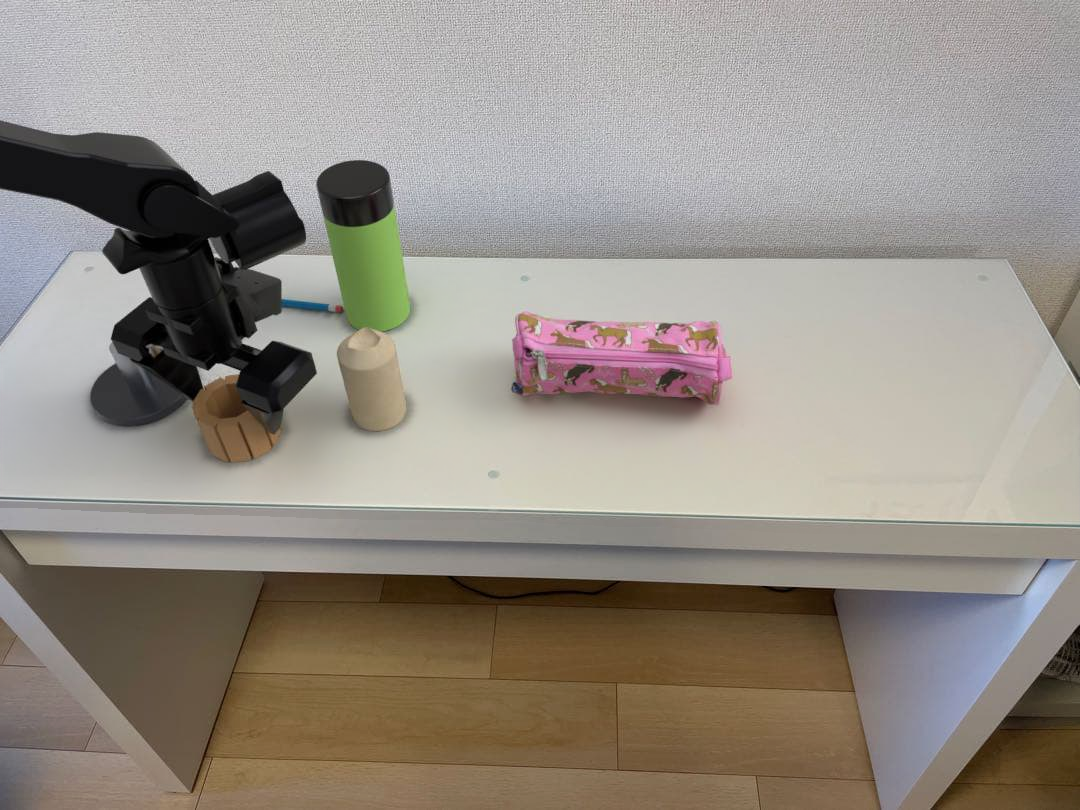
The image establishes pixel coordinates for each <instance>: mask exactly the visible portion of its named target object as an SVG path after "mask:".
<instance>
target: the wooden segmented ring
mask: <svg viewBox="0 0 1080 810" xmlns="http://www.w3.org/2000/svg"><path fill="white" fill-rule="evenodd" d="M238 377H239V374H231V375H230V374H229V375H225V376H224V378H223V377H221V376H220V377H219V378H217V379H215V380H212V381H211V382H210V383H208V384H206V385H203V389H201V390H200V391H199V393H198V395H197V396H196V398H195V399H194V401H193V402H192V401H191V402H192V405H191V408H192V412H193V415H194V419H195V421H196V423H197V426H198V428H199V430H200V432H201V435H202V438H203V440H204V441H205V444H206V446H207V448H208V450H209V452H210V454H211V455H212V456H213V457H215V458H217V459H220V460H221V461H223V462H226V463H229V462H230V463H232V464H233V463H240V462H241V463H242V462H250V461H252V458H253V459H254V460H256V459H257V458H260V457H261V456H263V455H264V454H266V453H267V452H268V451H269V452H270V451H271V450H272V447H275V446H276V443H277V441H278V440H279V438H280V436H281V434H282V429H283V428H282V426H281V427H280V429H279V430H278V431H277V432H276V433H275V434H274V435H273V434H271V433H269V432H268V431H267V430H266V429H265V428H264V427H263V426H262V425H261V424H260V423H259V422H258V421H257V420H256V419H255V418H254V417H253V416H252V414H251V413H250V412H249V411H248V410H247V409H246V408H245V407H244V406H243V405H242V404H241V402H242V401H243V400H244V399H243V398H242V397H241V396H240V395H239V393H238V391H237V388H236V384H237V380H238Z"/></svg>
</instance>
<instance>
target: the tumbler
mask: <svg viewBox="0 0 1080 810" xmlns="http://www.w3.org/2000/svg"><path fill="white" fill-rule="evenodd" d="M315 185H316V190H317V196H318V199H319V203H320V208H321V213H322V216H323V221H324V226H325V230H326V234H327V239H328V242H329V247H330V251H331V256H332V260H333V264H334V268H335V274H336V277H337V281H338V286H339V291H340V296H341V299H342V303H343V309H344V312H345V316H346V319H347V321H348V323H349V325H351V326H352V327H353V328H354V329H357V330H358V331H359V330H360V329H362V328H365V327H369V328H371V329H373V330H377V331H380V332H386V331H387V332H388V331H390V330H393V329H396V328H397V327H398V326H400V325H402V324H403V323H404V322H405V321H406V320H407V319H408V317H409V315H410V313H411V302H410V294H409V288H408V282H407V277H406V276H407V275H406V269H405V264H404V263H405V262H404V258H403V256H404V255H403V250H402V245H401V239H400V231H399V227H398V225H399V224H398V219H397V213H396V206H395V201H394V195H393V188H392V182H391V176H390V171H388V169H387V168H386V167H385V166H384V165H382V164H380V163H379V162H378V163H377V162H375V161H373V160H364V159H353V160H345V161H341V162H337V163H335V164H333V165H331V166H329V167H327V168H325V169H324V170H323V171H322V172H321V173H320V174H319V175H318V177H317V179H316V182H315Z"/></svg>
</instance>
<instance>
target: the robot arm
mask: <svg viewBox="0 0 1080 810" xmlns="http://www.w3.org/2000/svg"><path fill="white" fill-rule="evenodd" d="M284 189H285V188H284V185H283V182H282V180H281V179H280V178H279V177H277V175H275V174H274V173H273V172H272V171H270V170H267V171H264V172H262V173H259V174H257V175H254V176H253V177H252V178H250V179H249V180H247V181H244V182H242V183H240V184H237V185H234V186H232V187H229V188H227V189H224V190H222V191H219V192H217V193H214V194H212V193H211V192H210V191H209V190H208V189H206V188H205V187H204V186H203V184H201V183H200V182H199V181H198V180H196V179H194V178H193V176H192V175H191V174H190V173H189V171H187V170H186V169H185V168H184V167H183V166H181V164H180V163H178V162H177V161H176V160H175V159H174V158H173V157H172V156H171V155H170V154H169V153H168V152H167V151H165V150H164V148H162V147H161V146H160V145H159V144H158V143H156V142H155V141H154V140H152V139H150V138H147V137H144V136H139V135H131V134H129V135H128V134H120V133H111V132H98V131H95V132H90V133H89V132H87V133H79V134H63V133H53V132H49V131H45V130H41V129H37V128H33V127H29V126H24V125H22V124H17V123H13V122H8V121H4V120H0V190H3V191H8V192H14V193H19V194H23V195H28V196H33V197H40V198H45V199H50V200H55V201H59V202H62V203H64V204H67V205H70V206H73V207H75V208H78V209H80V210H82V211H83V212H86V213H88V214H90V215H92V216H94V217H95V218H98V219H100V220H102V221H104V222H106V223H108V224H109V225H113V226H116V227H115V229H114V230H113V235H112V237H111V238H110V239H109V240H107V242H106V243H105V245H104V246H103V248H102V250H101V252H102V255H103V256H105V259H107V261H108V262H109V263H110V265H112V266H113V268H114V269H115V270H116V271H117V273H118V274H120V275H127V274H130V273H132V272H134V271H136V270H138V269H139V272H140V274H141V276H142V278H143V280H144V283H145V285H146V287H147V289H148V292H149V294H150V296H149V297H147V298H146V299H145V300H143V302H141V303H140V304H139V305H137V306H136V307H135V308H134V309H132V311H130V312H129V313H127V314H126V315H125V316H123V318H121V319H120V320H118V322H116V323H115V324H114V325H113V327H112V332H111V336H110V340H111V343H112V342H113V344H114V346H115V348H116V350H117V352H118V354H121V355H123V356H126V357H128V358H130V360H131V361H132V362H133V363H135V364H137V365H139V366H140V367H142V368H143V369H145V370H146V371H148V372H149V373H151V374H152V375H154V376H155V377H157V378H158V379H160V380H161V381H163V382H164V383H166V384H167V385H169V386H170V387H172V388H173V389H175V390H176V391H178V392H179V393H180V394H182V395H183V396H185V397H186V398H187V400H189V401H191V402H193V401H194V399H195V398H196V396H197V395H198V393H199V391H200V390H201V389H204V385H203V382H202V379H201V375H200V372H199V370H198V369H202V370H204V371H207V372H209V371H210V370H211V369H213V368H214V367H215V366H216V365H223V366H226V367H229V368H231V369H235V370H237V371H239V373H238V375H239V377H238V380H237V384H236V388H237V391H238V393H239V395H240V396H241V397H242V398H243V399H244V400H243V401H242V402H241V404H242V405H243V406H244V407H245V408H246V409H247V410H248V411H249V412H250V413H251V414H252V416H253V417H254V418H255V419H256V420H257V421H258V422H259V423H260V424H261V425H262V426H263V427H264V428H265V429H266V430H267V431H268V432H269V433H271V434H273V435H274V434H275V433H276V432H277V431H278V430H279V429H280V427H281V428H282V421H283V417H284V411H285V408H287V406H288V405H289V404H290V403H291V402H292V401H293V400H294V398H296V396H297V395H298V394H299V393H300V392H301V391H302V390H303V389H304V388H305V387H306V386H307V385H308V383H310V381H311V380H312V379H313V378H314V377H315V376H316V375H317V374H318V372H317V367H316V364H315V359H314V357H313V356H314V355H313V353H312V352H311V351H307V350H305V349H303V348H299V347H297V346H294V345H291V344H288V343H285V342H282V341H277V340H271V341H269V343H268V344H267V345H266V346H264V347H263V348H262V349H259V348H257V347H254V346H252V345H248V344H245V343H243V340H244V338H246V339H250V338H252V337H253V335H255V334H256V333H257V332H258V330H259V329H258V327H257V325H256V323H257V322H260V321H263V320H265V319H267V318H269V317H272V316H279V315H280V314H282V312H283V311H282V310H283V309H282V308H283V306H282V299H283V298H282V293H283V292H282V283H283V282H282V280H281V279H280V278H278V277H276V276H273V275H270V274H266V273H263V272H261V271H257V270H254V269H251V268H253V267H255V266H257V265H260V264H262V263H264V262H267V261H269V260H272V259H274V258H276V257H278V256H281V255H282V254H285V253H287V252H289V251H291V250H294V249H296V248H298V247H301V246H304V245H305V244H306V242H307V231H306V228H305V224H304V221H303V219H302V218H301V217H299V215H298V212H297V209H296V207H295V206H294V204H293V202H292V200H291V199H290V197H289V196H288V194H287V193H286V191H285V190H284ZM209 240H210V241H209ZM210 243H211V244H210ZM211 245H212V247H213V248H214V251H215V252H216V254H217V255H218V256H216V257H215V255H214V252H213V249H212V247H211ZM234 262H235V264H236V265H237V266H234V264H233V263H234Z"/></svg>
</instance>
